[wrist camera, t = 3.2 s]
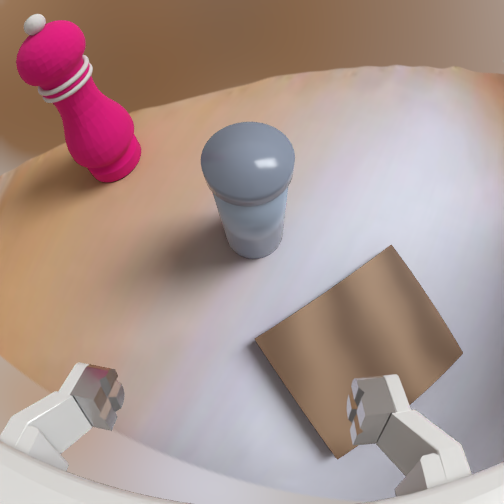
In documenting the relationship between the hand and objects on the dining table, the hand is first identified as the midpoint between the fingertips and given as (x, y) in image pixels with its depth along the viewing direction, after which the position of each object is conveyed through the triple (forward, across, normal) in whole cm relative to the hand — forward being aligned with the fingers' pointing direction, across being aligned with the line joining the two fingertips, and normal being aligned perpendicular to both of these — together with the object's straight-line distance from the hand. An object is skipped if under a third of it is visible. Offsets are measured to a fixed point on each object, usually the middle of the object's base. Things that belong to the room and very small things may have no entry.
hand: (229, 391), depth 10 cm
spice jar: (+19, 0, -2) cm, 20 cm away
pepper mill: (+26, -16, +4) cm, 30 cm away
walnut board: (+12, +9, -10) cm, 18 cm away
